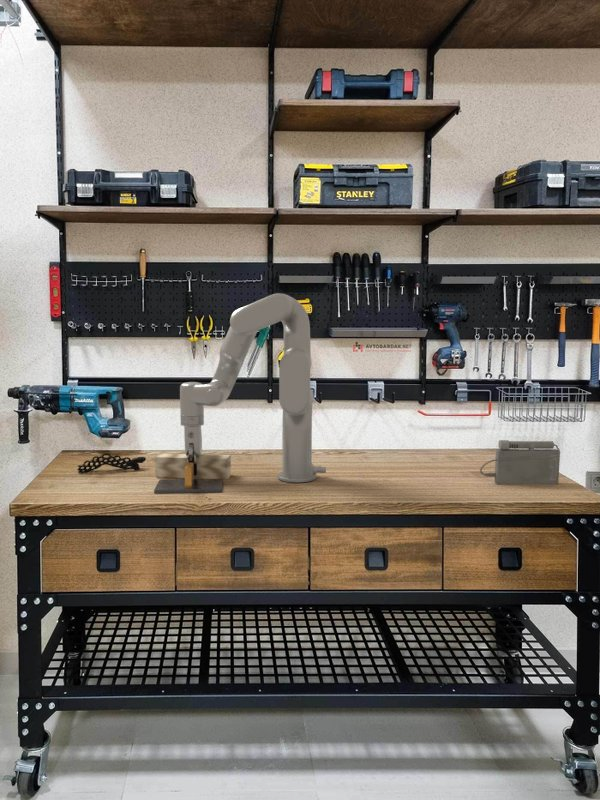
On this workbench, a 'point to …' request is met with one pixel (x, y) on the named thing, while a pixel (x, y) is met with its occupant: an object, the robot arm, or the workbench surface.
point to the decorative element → (111, 463)
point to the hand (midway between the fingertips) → (193, 471)
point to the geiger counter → (526, 463)
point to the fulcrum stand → (189, 483)
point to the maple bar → (205, 466)
